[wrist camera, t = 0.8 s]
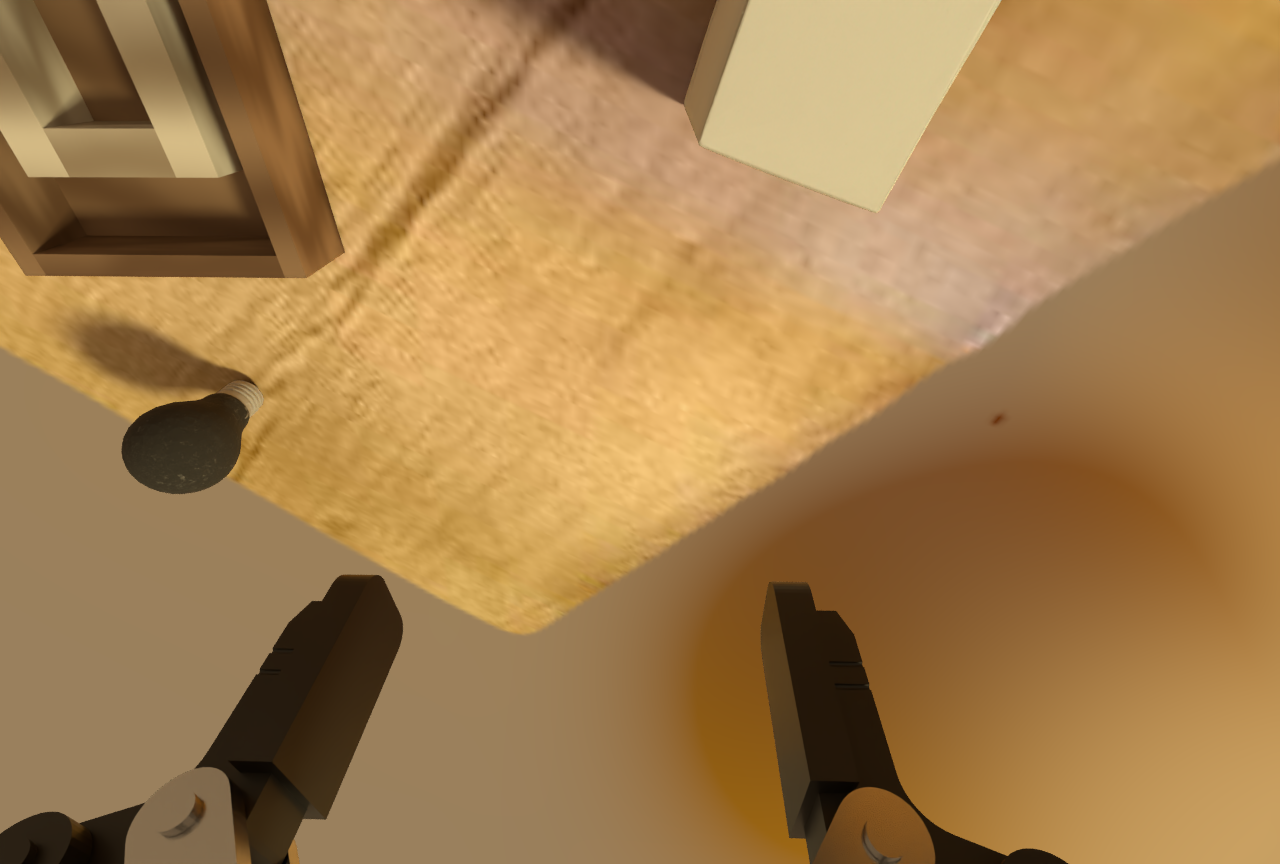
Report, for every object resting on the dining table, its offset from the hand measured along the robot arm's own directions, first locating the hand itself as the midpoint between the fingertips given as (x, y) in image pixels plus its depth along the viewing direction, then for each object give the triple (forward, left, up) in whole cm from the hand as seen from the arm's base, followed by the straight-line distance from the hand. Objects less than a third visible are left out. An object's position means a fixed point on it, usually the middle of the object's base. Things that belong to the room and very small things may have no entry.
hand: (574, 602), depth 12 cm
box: (-9, -26, -26) cm, 38 cm away
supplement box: (-9, +7, -27) cm, 29 cm away
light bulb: (+11, -28, -26) cm, 40 cm away
